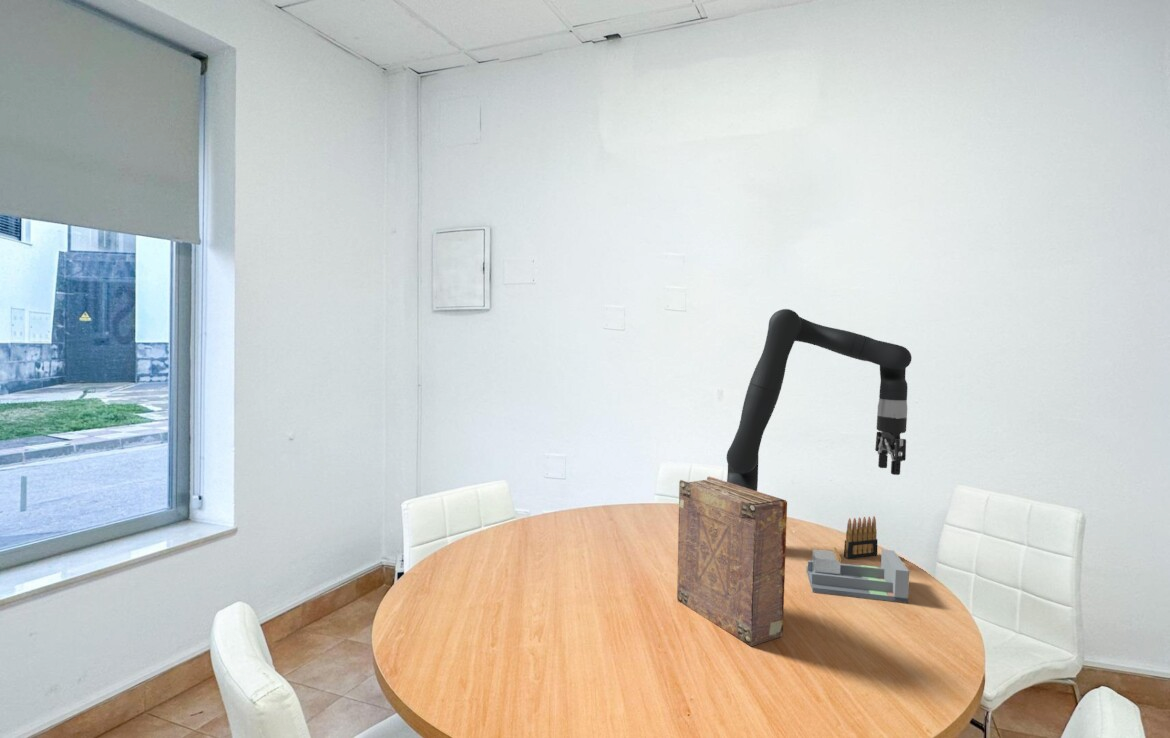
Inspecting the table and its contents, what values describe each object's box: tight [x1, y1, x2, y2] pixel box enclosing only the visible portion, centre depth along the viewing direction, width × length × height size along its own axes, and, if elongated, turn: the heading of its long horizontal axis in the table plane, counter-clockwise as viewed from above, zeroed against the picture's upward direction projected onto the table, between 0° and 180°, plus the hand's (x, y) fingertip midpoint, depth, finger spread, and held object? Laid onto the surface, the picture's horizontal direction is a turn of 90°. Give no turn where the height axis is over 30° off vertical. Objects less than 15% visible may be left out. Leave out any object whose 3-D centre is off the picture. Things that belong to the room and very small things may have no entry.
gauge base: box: [805, 548, 910, 604], centre depth 153 cm, size 22×15×8 cm
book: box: [676, 476, 788, 647], centre depth 134 cm, size 25×9×30 cm, turn 29°
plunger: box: [812, 547, 842, 575], centre depth 155 cm, size 6×8×7 cm
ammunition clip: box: [843, 515, 878, 560], centre depth 175 cm, size 11×2×12 cm, turn 106°
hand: (888, 471), depth 167 cm, fingers open, 8 cm apart
